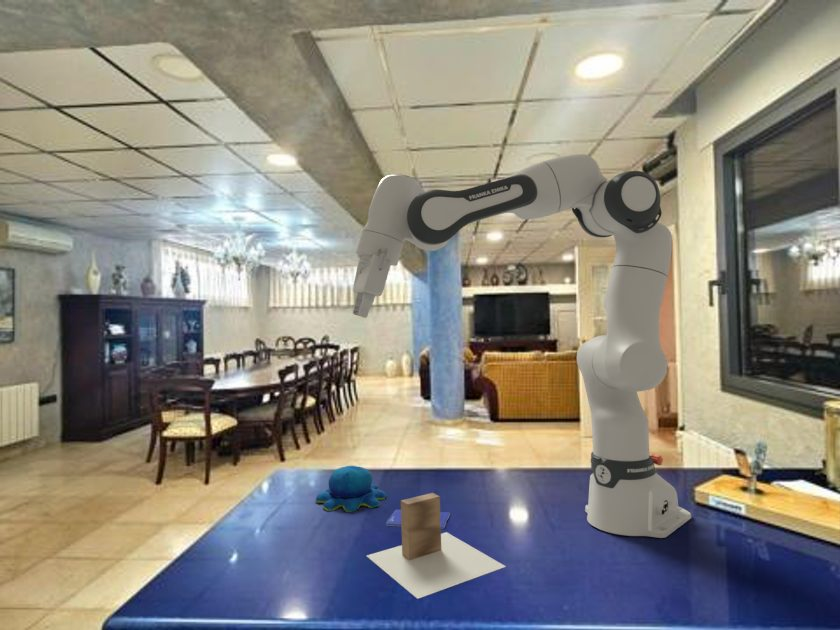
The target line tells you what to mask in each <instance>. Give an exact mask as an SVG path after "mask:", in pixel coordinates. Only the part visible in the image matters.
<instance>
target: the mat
mask: <svg viewBox="0 0 840 630" xmlns="http://www.w3.org/2000/svg"><path fill="white" fill-rule="evenodd" d="M366 557H367V558H368V559H369V560H371V562H372V563H374V564H375V565H377V567H379V568H380V569H381V570H382V571H384V573H386V574H387V575H388V576H389V577H391V579H393V581H394V580H395V581H396V582H397V583H398V584H399V585H400V586H402V588H404V589H405V590H406V591H407V592H409V594H411V595H412V596H413V597H414V598H416V599H417V600H418V599H422V598H424V597H427V596H430V595H432V594H436V593H437V592H440V591H444V590H445V589H448V588H451V587H455V586H456V585H457V586H458V585H460V584H462V583H466V582H469V581H471V580H474V579H477V578H479V577H482V576H485V575H487V574H490V573H494V572H495V571H499V570H501V569H504V568H506V567H507V566H506V565H504V564H503V563H501V562H499V561H498V560H496V559H494V558H492V557H490V556H489V555H487V554H485V553H484V552H482V551H480V550H479V549H476V548H475V547H473V546H471V545H470V544H468V543H466V542H464V541H463V540H461V539H459V538H457V537H456V536H453V535H452V534H451V533H449V532H447V531H446V532H441V551H438V552H434V553H431V554H428V555H425V556H422V557H418V558H415V559H412V560H408V559H407V558H405V557H404V556H403V555H402V544H401V545H397V546H395V547H391V548H388V549H384V550H380V551H377V552H374V553H371V554H367V555H366Z"/></svg>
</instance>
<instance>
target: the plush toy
mask: <svg viewBox="0 0 840 630" xmlns="http://www.w3.org/2000/svg"><path fill="white" fill-rule="evenodd" d="M385 498H387V493H386V492H384V490H381V489H379V486H378V485H376V484H374V483H373V474H372V473H371V471H370V470H369V469H366V468H364V467H361V466H357V465H347V466H342V467H339V468H337V469H335V470H334V471H333V472H332V473H331V475H330V477H329V479H328V488H327V489H326V490H325V491H321V492H319V493H318V494H317V495H316V497H315V502H316V503H319V504H320V503H322V504H323V506H322V509H323V510H325V511H327V512H331V511H335V510H337V509H338V508H341V507H342V508H343V510H344V511H345V512H346V513H351V512H356V511H357V509H358V510H359V508H360V507H361V506H365V507H368V508H371V509H372V508H376V507H379V506H381V502H380V501H382V500H386V499H385Z"/></svg>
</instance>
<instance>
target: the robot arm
mask: <svg viewBox="0 0 840 630" xmlns="http://www.w3.org/2000/svg"><path fill="white" fill-rule="evenodd" d="M372 196H373V197H372V199H371V202H370V205H369V208H368V213H367V214H368V217H367V222H366V224H365V225H364V226H363V229H362V231H361V235H360V238H359V240H358V241H359V242H358V243H357V244H358V245H357V248H356V249H355V250H356V251H355V253H356V254H357V258H358V262H357V263H358V264H357V268H356V273H355V277H354V281H353V288H352V289H353V290H352V291H353V292H354V293H355V294H356V296H355V300H354V301H355V302H354V307H353V308H352V309H353V310H352V315H355V316H358V317H362V318H363V319H366V318H368V317H369V312H370V310H371V307H372V306H373V303H374V301H375V298H376V297H381V296H382V295H383V293H384V290H385V286H386V283H387V279H388V275H389V272H390V269H391V266H393V267H396V266H398V264H399V262H400V261H399V260H400V257H401V254H402V251H403V247H404V244H405V242H406V241H407V242H408V243H410V244H411V245H413V246H415V247H417V248H419V249H421V250H423V251H427V252H435V251H439V250H441V249H443V248H444V247H445V246H447V245H448V243H449V242H450V241H451V239H452V238H453V237H454V236H455V235H456V234H457V233H458V232H459V231H460V230H461V229H463V228H464V227H465V226H468V225H470V224H472V223H476V222H479V221H483V220H487V219H489V218H492V217H493V218H494V217H496V216H500V215H502V214H514V215H515V216H516V217H518V218H520V219H522V220H525V221H526V220H534V219H541V218H545V217H549V216H551V215H555V214H558V213H560V212H563V211H567V210H572V213H573V215H574V216H575V217H576V219H577V221H578V223H579V226H580V227H581V229H582V230H583V231H584V232H585V233H586V234H588V235H590V236H591V237H592V236H593V237H595V238H610V237H612V236H613V238H614V242H615V256H614V259H613V263H612V266H611V272H610V275H609V279H608V283H607V286H606V290H605V296H604V298H603V299H604V300H603V305H604V309H605V311H606V334H603V335H602V334H601V335H597V336H594V337H592V338H589V339H588V340H586V341H585V342H583V343H582V344H581V346H580V347H579V349H578V351H577V353H576V364H577V366H578V369H579V371H580V373H581V375H582V379H583V383H584V388H585V393H586V396H587V401H588V406H589V410H590V418H591V433H592V434H591V436H592V437H591V438H592V452H591V453H590V470H591V472H592V473H591V475H590V476H589V485H588V486H589V487H588V488H589V489H588V504H586V505H585V506H584V507H585V508H584V511H585V512H586V513H587V516H586V521H587V522H588V523H589V525H591V526H593V527H595V528H597V529H598V530H600V531H603V532H606V533H609V534H614V535H619V536H628V537H651V538H659V539H663V538H667V537H668V536H670V535H671V534H672V533H674V532H675V531H676V530H677V529H678V528H681V526H683V525H684V524H685V523H687V522H688V521H690V520H691V519H692V513H691V512H689V511H688V510H687V509H685V508H683V507H681V506H679V499H678V493H677V489H676V488H675V487H674V486H672V485H671V484H670V483H669V482H668V481H666V479H664V478H663V477H661V475H659V474H658V473H657V469H656V467H655V465H657V466H661V465H663V462H664V458H663V455H657V454H654V453H652V454H650V432H649V429H650V428H649V418H648V415H647V414H646V411H645V410H644V409H643V407H642V404H641V402H640V397H639V395H638V392H644V391H650V390H652V389H655V388H657V386H659V385H660V384H661V383H663V381H664V379H665V377H666V376H667V373H668V360H667V356H666V355H665V352H664V351H663V348H662V346H661V339H660V338H661V337H660V315H661V314H660V313H661V307H662V302H663V298H664V294H665V290H666V285H667V281H668V276H669V272H670V267H671V262H672V261H671V260H672V259H671V258H672V250H673V249H672V248H673V236H672V232H671V231H670V229H669V228H668V227H667V226H666V225H664V224H662V223H661V222H659V221H660V219H661V217H662V215H663V213H662V207H661V193H660V188H659V185H658V184H657V181H656V179H654V178H653V177H652V175H650V174H649V173H647V172H645V171H639V170H629V171H623V172H620V173H618V174H617V175H615V176H613V177H612V178H609V179H608V178H607V177H605V176H604V175H603V174H602V173H601V168H600V166H599V164H598V162H597V161H596V160H595V159H594V158H593V157H592V156H590V155H588V154H585V153H580V154H579V153H577V154H570V155H564V156H559V157H555V158H550V159H546V160H543V161H540V162H537V163H535V164H531V165H529V166H527V167H525V168H522V169H521V170H520V169H519V170H518V171H516V172H514V173H513V174H511V175H509V176H506V177H504V178H502V179H497V180H494V181H490V182H487V183H484V184H481V185H477V186H474V187H470V188H466V189H465V188H464V189H462V190H445V189H435V188H434V189H428V190H425V189H423V188H422V186H421V185H420V183H419V182H418V180H417V179H416V178H414V177H412V176H409V175H406V174H401V173H400V174H399V173H398V174H396V173H395V174H389V175H386V176H385V177H382V178H381V180H380V181H379V183H378V184H377V187H376V189H375V191H374V194H373V195H372Z"/></svg>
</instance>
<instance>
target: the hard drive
mask: <svg viewBox="0 0 840 630" xmlns="http://www.w3.org/2000/svg"><path fill="white" fill-rule="evenodd" d="M450 515H451V513H450V512H446V511H445V512H441V511H440V518H441V530H444V529H445V527H446V525H447V521H448V519H449V518H450ZM385 526H388V527H390V526H391V527H401V509H395V510H394V511H393V513H392V514H391V515H390V517H389V518H388V519H387V521H386V523H385Z"/></svg>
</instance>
